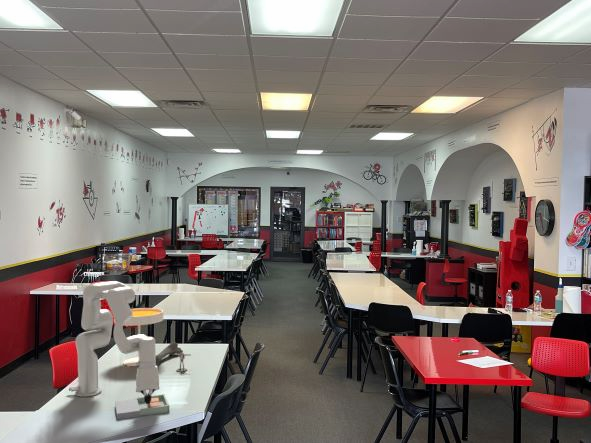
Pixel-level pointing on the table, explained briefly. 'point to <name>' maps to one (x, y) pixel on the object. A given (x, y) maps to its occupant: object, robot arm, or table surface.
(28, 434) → the table surface
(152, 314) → the round pedestal stand
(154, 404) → the tile near
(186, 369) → the figurine
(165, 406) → the tray
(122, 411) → the deck
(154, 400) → the tile far
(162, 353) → the bone
